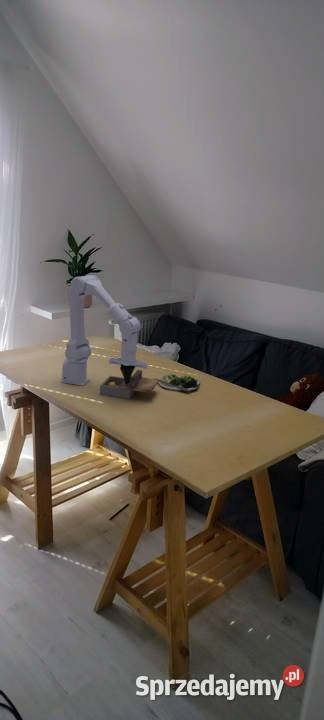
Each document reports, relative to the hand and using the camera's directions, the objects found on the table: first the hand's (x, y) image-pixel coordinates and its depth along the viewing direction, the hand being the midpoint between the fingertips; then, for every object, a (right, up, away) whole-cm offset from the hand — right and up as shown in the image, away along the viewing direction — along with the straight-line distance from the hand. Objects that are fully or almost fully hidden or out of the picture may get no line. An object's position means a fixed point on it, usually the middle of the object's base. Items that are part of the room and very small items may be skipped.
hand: (127, 383), depth 197 cm
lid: (+4, -1, +4) cm, 6 cm away
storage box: (-4, -3, +7) cm, 8 cm away
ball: (-6, -1, +7) cm, 9 cm away
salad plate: (+21, -2, +19) cm, 28 cm away
